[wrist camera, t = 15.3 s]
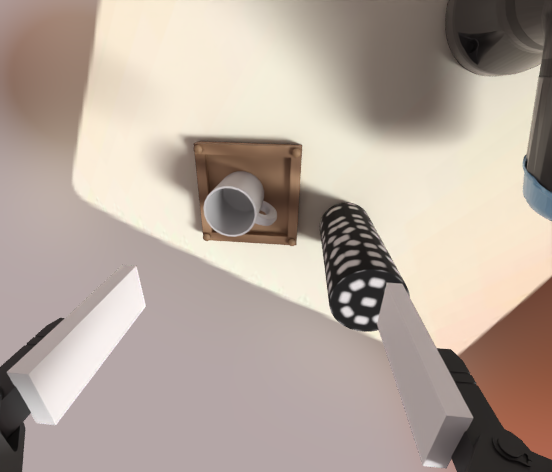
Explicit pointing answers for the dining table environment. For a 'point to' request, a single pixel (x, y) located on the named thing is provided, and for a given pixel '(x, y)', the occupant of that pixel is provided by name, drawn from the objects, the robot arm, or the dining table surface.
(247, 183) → the cup
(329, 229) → the white-spotted black cylinder
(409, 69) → the dining table surface
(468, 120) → the dining table surface
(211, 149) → the wooden tray
